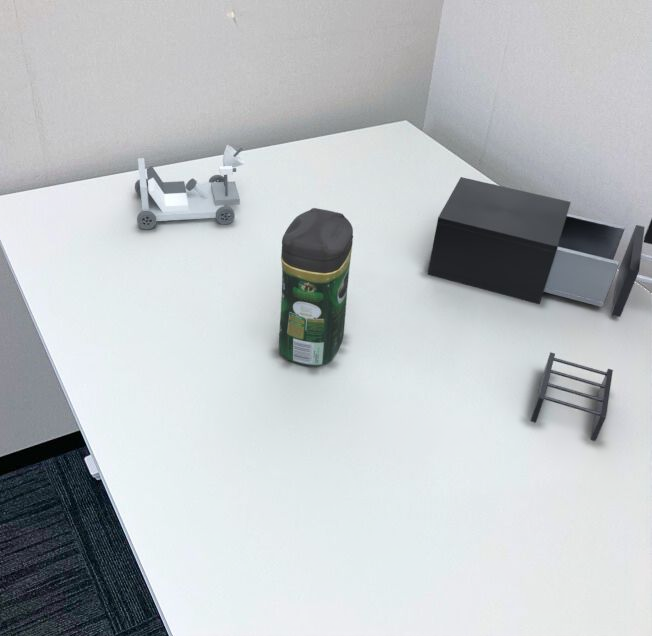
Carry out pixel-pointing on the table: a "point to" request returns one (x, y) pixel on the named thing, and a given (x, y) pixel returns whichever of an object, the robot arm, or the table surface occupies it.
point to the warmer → (498, 239)
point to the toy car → (188, 195)
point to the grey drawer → (595, 262)
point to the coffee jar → (314, 286)
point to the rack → (601, 398)
